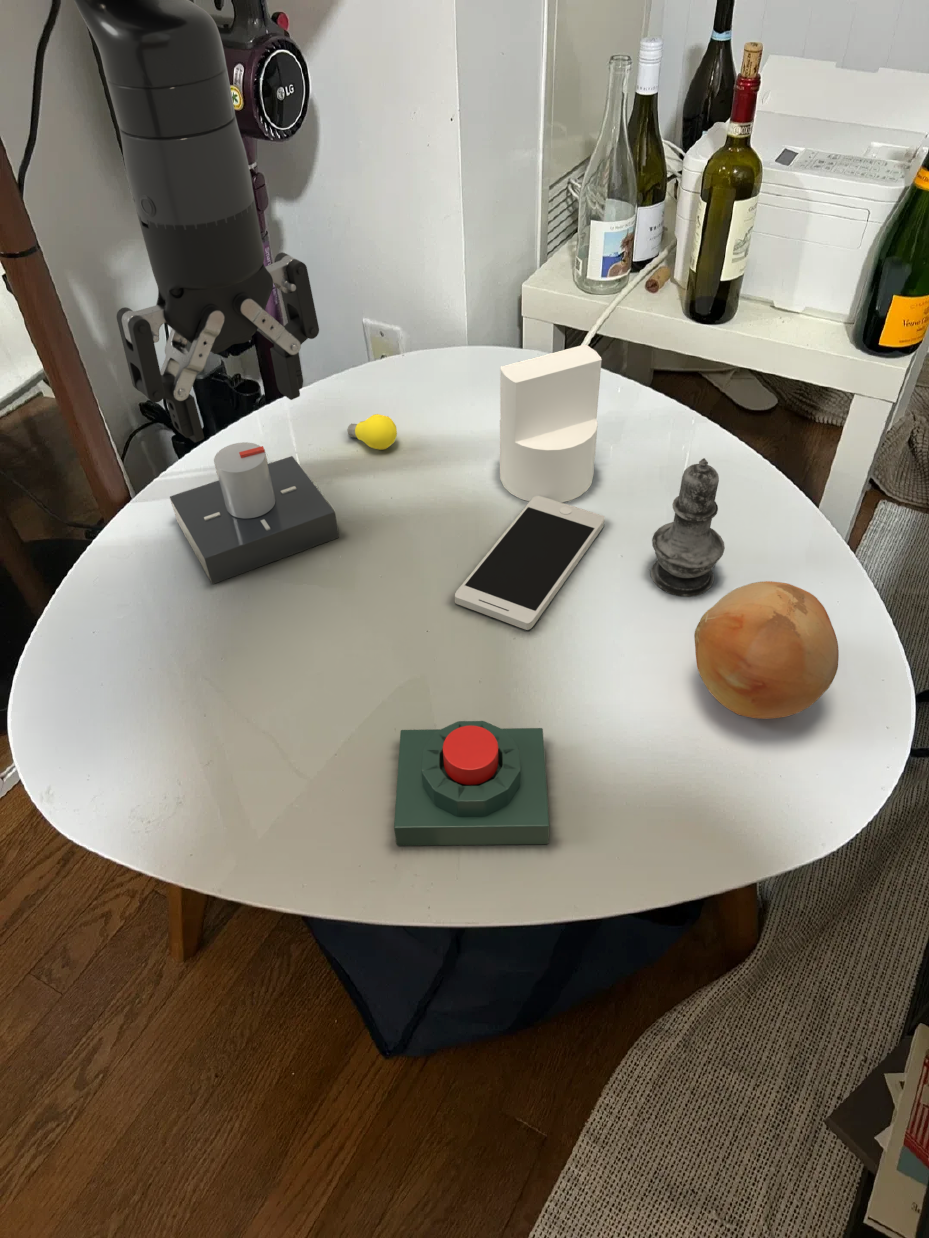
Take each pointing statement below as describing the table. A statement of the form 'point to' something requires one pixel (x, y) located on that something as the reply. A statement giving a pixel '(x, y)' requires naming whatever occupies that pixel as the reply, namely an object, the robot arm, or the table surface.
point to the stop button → (470, 755)
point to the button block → (471, 792)
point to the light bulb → (375, 431)
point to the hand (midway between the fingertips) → (242, 415)
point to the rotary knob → (245, 480)
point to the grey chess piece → (689, 536)
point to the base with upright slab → (549, 424)
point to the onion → (766, 650)
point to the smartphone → (530, 562)
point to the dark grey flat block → (255, 523)
